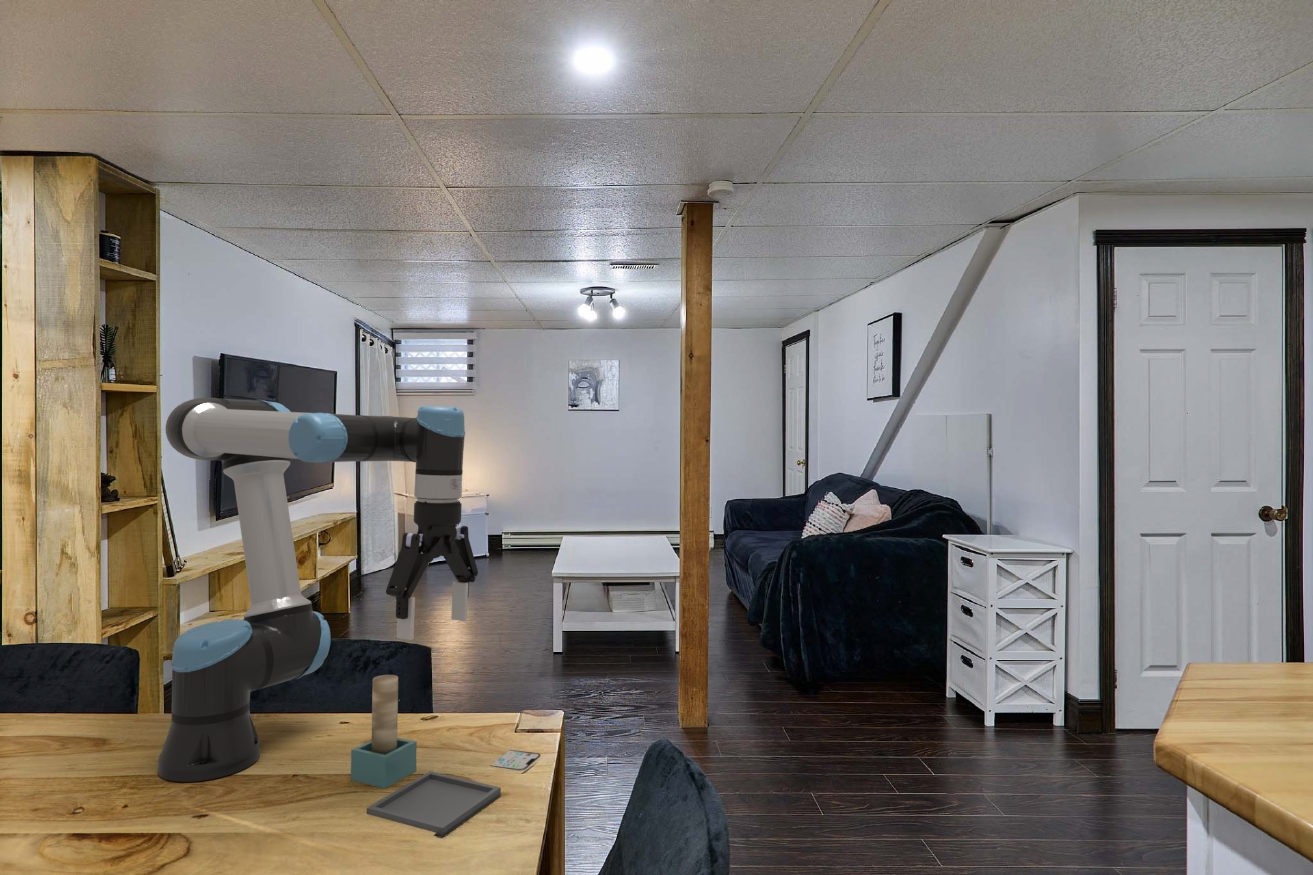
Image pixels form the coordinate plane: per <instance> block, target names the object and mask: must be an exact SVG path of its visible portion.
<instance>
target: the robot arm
mask: <svg viewBox="0 0 1313 875" xmlns="http://www.w3.org/2000/svg"><path fill="white" fill-rule="evenodd" d="M165 435H166V439H167V441H168V443H169V445H170V446H171V447H172V448H173V449H174V450H175V451H177V453H180V455H183V456H184V457H188V458H191V459H194V460H201V461H221V465H222V472H223V474H224V475H226V476H227V477H229V478H230V479H232V482H233V485H234V491H235V498H236V505H237V512H238V518H239V519H238V520H239V526H240V532H241V541H242V548H243V556H244V562H245V563H244V564H245V567H246V576H247V577H246V578H247V583H248V584H247V585H248V590H249V597H250V606H249V608H248V610H247V611H246V612H245V613H244V614H243V619H240V618H239V619H235V618H233V619H224V620H221V621H212V622H207V623H203V624H201V625H197V626H195V627H192V628H190V629H188V630H185V631H184V632H182V633H181V634H180V635H179V636H178V638H177V639H176V640H175V641H174V644H173V649H172V658H171V661H170V666H171V669H172V671H171V675H172V676H171V721H170V722H171V723H170V724H171V725H170V727H169V730H168V732H167V736H166V738H165V741H164V744H163V747H162V750H161V753H160V754H159V757H158V761H157V762H158V763H157V764H158V765H157V774H158V775H159V777H160V778H161V779H164V780H166V781H171V782H178V783H179V782H180V783H182V782H183V783H187V782H188V783H191V782H203V781H207V780H208V781H209V780H215V779H218V778H222V777H227V776H229V775H234V774H236V773H238V772H241V771H243V770H245V769H247V768H249V767H250V766H252V765H254V764H255V763H256V762H257V761H258V760H259V759H260V756H261V742H260V741H261V740H260V739H259V737H258V733H257V730H256V727H255V725H254V721H253V718H252V716H251V713H250V712H251V711H250V705H251V704H250V700H251V697H250V696H251V692H254V691H255V692H256V691H257V690H259V691H260V690H261V689H265V688H268V687H271V686H275V685H278V684H281V683H285V682H288V681H294V680H299V679H300V678H303V676H307V675H308V674H311V673H313V672H315V671H317V670H318V669H319V668H320V667H321V666H322V665H323V664H324V662H325V659H327V657H328V654H329V653H330V652H329V651H330V647H331V638H332V637H331V629H330V625H329V623H328V621H327V620H326V619H325V616H324V615H323V614H322V613H320V612H318V611H313V606H312V600H310V599H308V598H306V597H304V596H303V594H302V590H301V583H300V577H299V571H298V570H299V568H298V563H297V556H296V549H295V544H294V537H293V530H292V529H293V528H292V524H291V523H292V522H291V517H290V512H289V502H288V496H287V490H286V483H285V476H284V474H285V472H286V470H287V469H288V468H289V467H290V466H291V459H294V460H297V459H298V460H300V461H302V462H304V463H312V464H328V463H347V462H356V463H357V462H358V463H360V462H405V463H406V462H407V463H410V462H411V463H415V470H414V471H415V473H414V492H413V493H414V494H413V495H414V497H415V499H417V500H416V501H415V502H414V504H413V523H415V525H417V532H416V533H413V532H412V533H411V532H404V533H403V534H402V539H401V540H402V541H401V548H400V551H399V554H398V557H397V559H396V562H395V565H394V567H393V570H392V573H391V576H390V578H389V580H388V584H387V586H386V590H385V593H386V595H387V596H388V595H389V596H390V597H395V600H396V601H395V618H396V639H402V640H407V641H412V640H415V638H414V635H415V614H416V613H415V612H416V611H415V610H416V606H415V605H416V597H414V596H412V595H413V593H414V591H415V589H416V588H417V586H418V584H419V582H420V581H421V579H422V577H423V574H424V573H425V571H426V569H427V567H428V565H429V564H430V563H432V562H433V561H434V559H437V558H440V557H443V558H444V560H445V562H446V563H447V566H448V567H449V569H450V570H451V573H452V574H453V576H454V578H455V579H456V581H452V588H451V590H452V592H451V617H450V618H451V619H450V620H452V621H453V620H454V621H458V622H459V621H460V622H467V621H468V604H469V602H468V600H469V596H470V595H469V594H470V593H469V591H470V583H474V582H475V581H476V577H477V576H478V573H479V570H478V567H477V564H476V563H477V562H476V560H475V556H474V553H473V550H472V546H471V542H470V539H469V527H468V525H460V524H461V522H462V503H461V501H459V499H461V498H462V495H463V472H464V470H463V466H464V464H463V463H464V446H465V436H466V430H465V413H464V410H462V409H461V408H459V407H456V406H455V407H454V406H442V405H441V406H439V405H437V406H436V405H434V406H433V405H421V406H420V407H418V409H417V416H416V417H407V416H405V417H404V416H393V415H361V414H360V415H359V414H357V415H355V414H339V413H328V412H301V411H300V412H298V411H297V412H296V411H291V410H290V409H289V408H287V407H286V406H284V404H281V403H279V402H276V401H267V400H264V399H238V398H237V399H235V398H219V397H218V398H217V397H196V398H193V399H189V400H187V401H184V402H181V403H180V404H178V405H177V406H176V407H175V408H174V409H173V410H172V411H171V412H170V414H169V415H168V417H167V420H166V422H165Z"/></svg>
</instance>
